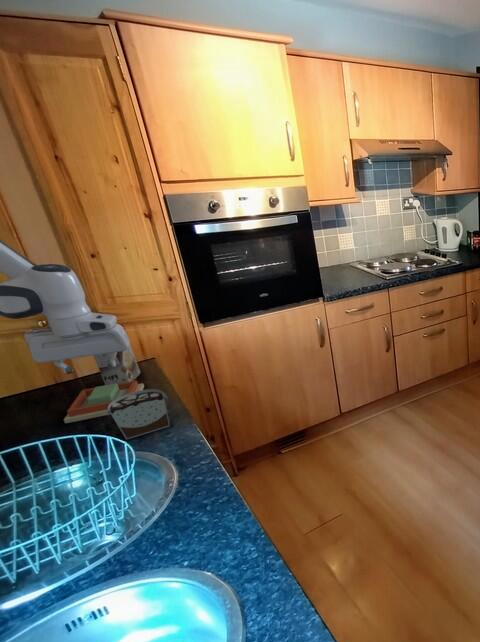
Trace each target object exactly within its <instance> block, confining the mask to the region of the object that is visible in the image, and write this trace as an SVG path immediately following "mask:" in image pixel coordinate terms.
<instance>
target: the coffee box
mask: <svg viewBox="0 0 480 642" xmlns="http://www.w3.org/2000/svg"><path fill="white" fill-rule="evenodd" d="M124 330H125V332H126V329H125V328H124ZM126 333H127V332H126ZM111 357H112V356H109V355H108V353H107V354H100V355H93V358H94V360H95V363H96V365H97V368H98V370H99V373H100V376H101V378H102V380H103V383H104V385H110V384H115V383H117V384H118V383H124V382H130V381H135V380H136V379H137V378H138V377H139V376H140V374H141V370H140V367H139V364H138V362H137V359H136V356H135V354H134V350H133V348H132V345H131V344H130V346H129V348H128V349H127V350H126V351H121V352H117V355H116V357H115V362H116V366H115V367H110V368H108V365H107V363H106V362H107V361H108V360H111Z"/></svg>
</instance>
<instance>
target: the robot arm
mask: <svg viewBox="0 0 480 642" xmlns="http://www.w3.org/2000/svg"><path fill="white" fill-rule="evenodd" d="M0 273H2V274H3V275H5V276H6V277H8V278H9V279H8V280H6V281H3V282H0V316H1V317H3V318H6V319H11V320H20V319H21V320H22V319H27V318H29V317H34V316H37V315H44V316H45V319H46V320H47V323H48V325H49V326H45V327H39V328H30V329H29V330H26V332H25V333H24V334H23V338H24V340H25V342H26V344H27V345H29V350H30V355H31V358H32V361H34V362H36V363H38V364H43V363H49V362H50V363H51V362H52V363H53V364H54V365H55V366H56V367H57V368H59V369H60V370H62V371H63V374H64V375H69V374H70V375H71V374H73V373H74V368H73V366H72V365H67V364H66V363H65V362H64V361H65V360H71V359H79V358H85V357H92V356H93V357H94V355H100V354H107V353H108V355H109V356H112V357H111V360H108V361H107V362H106V363H107V365H108V368H110V367H115V366H116V362H115V357H116V355H117V352H121V351H126V350H127V349H128V348H129V346H130V345H131V341H130V338H129V335H128V333H127V332H125V331H126V329H125V328H124V327H123V326H122V325H121V324H119V323H118V317H117V316H116V315H114V314H107V313H99V312H92V309H91V307H90V306H89V305H88V303H87V302H86V293H85V291H84V289H83V286H82V284H81V281H80V280H79V278H78V276H77V274H76V273H75V272H74V270H73V269H72V268H71V267H68V266H66V265H64V264H63V265H62V264H58V263H57V264H56V263H45V264H44V263H43V264H36V263H35V262H34V261H31V259H28V257H26V256H25V255H23V254H22V253H20V252H18V251H17V250H16V249H14V248H13V247H11V246H10V245H8V244H7V243H5V242H4V241H2V240H1V239H0ZM124 329H125V330H124Z"/></svg>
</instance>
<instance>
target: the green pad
mask: <svg viewBox="0 0 480 642" xmlns="http://www.w3.org/2000/svg"><path fill="white" fill-rule="evenodd" d="M94 388H95V389H94V390H93V392H92V393H91V395H90V396H89V398H88V399H87V400H88V402H89V405H90V406H91V405H96V404H101V403H107V402H112V401H114V400H116V399H117V397H118V395H119V393H120V390H119V387H118V385H117V383H115V384H110V385H105V384H104V385H99V386H95V387H94Z"/></svg>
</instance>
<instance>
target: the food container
mask: <svg viewBox="0 0 480 642" xmlns="http://www.w3.org/2000/svg"><path fill="white" fill-rule="evenodd" d="M165 398H166V399H165ZM168 399H169V398H168V397H167V395H166V393H164V392H163V391H162V390H160V389H156V388H153V389H152V388H149V389H143V390H141V391H136V392H132V393H129V394H126V395H124V396H121V397H119V398H117V399H116V400H114V401H113V402H111V403H110V404H109V406H108V409H107V413H108V415H107V416H111V417H112V418H113V420H114V421H115V424H116V425H117V427H118V428H119V430H120V432H121V433H122V435H123V436H124V438H125V440H130V439H133V438H136V437H139V436H142V435H146V434H149V433H153V432H156V431H159V430H163V429H165V428H168V427H171V422H170V419H169V414H168V408H167V403H166V400H168ZM109 413H110V415H109Z"/></svg>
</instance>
